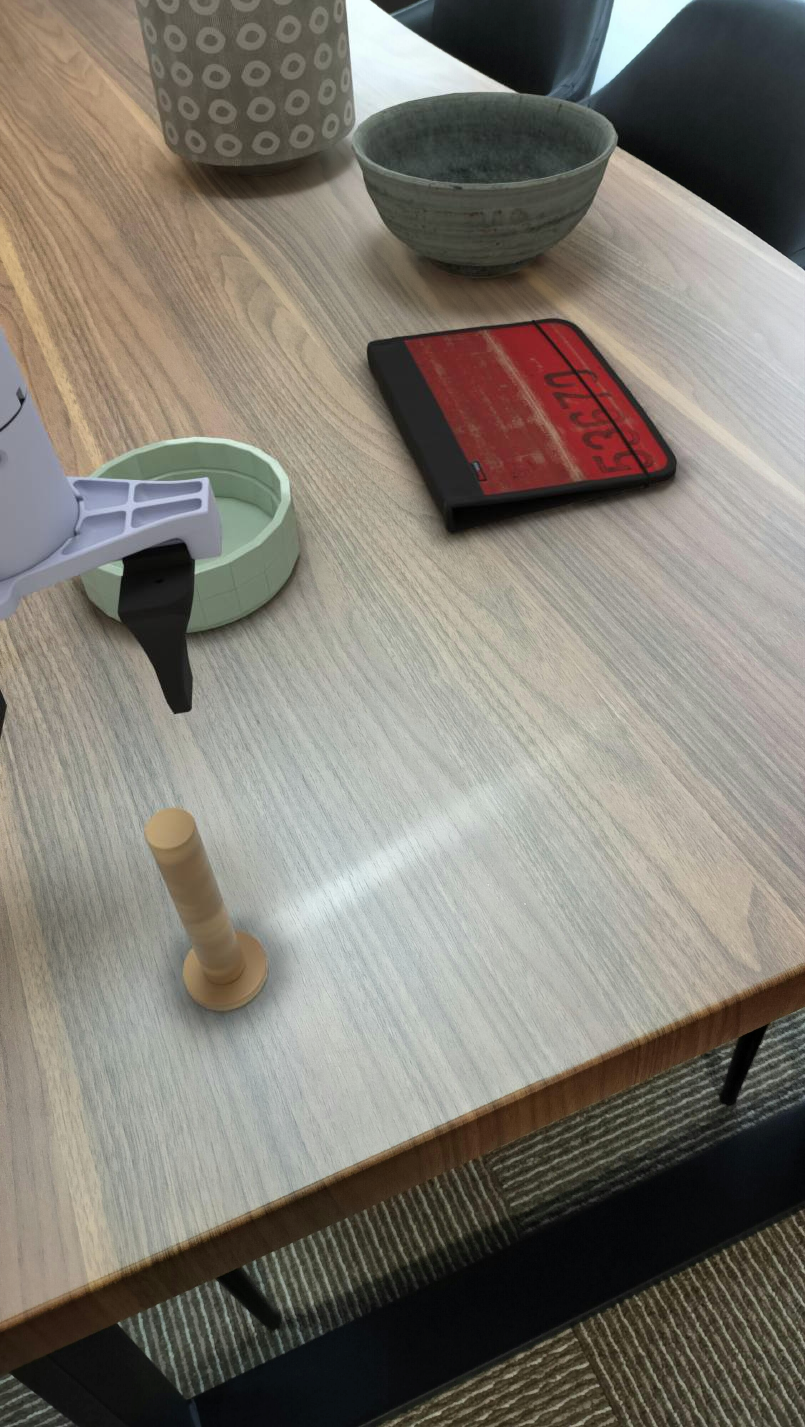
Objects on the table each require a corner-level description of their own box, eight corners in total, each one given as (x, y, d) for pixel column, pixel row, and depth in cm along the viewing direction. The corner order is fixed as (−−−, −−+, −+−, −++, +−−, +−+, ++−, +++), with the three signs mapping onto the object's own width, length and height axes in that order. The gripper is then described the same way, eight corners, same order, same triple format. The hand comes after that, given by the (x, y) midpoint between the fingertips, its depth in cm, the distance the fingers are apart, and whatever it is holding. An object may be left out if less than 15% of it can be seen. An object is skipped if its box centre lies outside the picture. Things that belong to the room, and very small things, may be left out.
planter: (397, 150, 104) (384, -72, 90) (255, 216, 95) (218, -17, 82) (272, 111, 113) (244, -95, 99) (133, 168, 104) (81, -48, 91)
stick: (184, 1016, 43) (114, 876, 35) (187, 940, 46) (122, 792, 38) (269, 1005, 44) (219, 863, 35) (267, 930, 46) (220, 781, 38)
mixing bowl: (75, 650, 58) (50, 591, 55) (94, 508, 67) (74, 450, 64) (305, 622, 59) (295, 562, 56) (295, 485, 68) (285, 425, 64)
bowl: (318, 293, 85) (303, 165, 77) (422, 191, 97) (417, 71, 89) (558, 335, 78) (566, 199, 71) (637, 220, 90) (651, 94, 83)
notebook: (446, 505, 61) (364, 338, 75) (446, 536, 63) (365, 367, 77) (693, 461, 64) (570, 307, 78) (686, 492, 66) (566, 336, 79)
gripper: (-352, 536, 28) (-111, 819, 39) (164, 450, 28) (270, 757, 38) (-269, 399, 33) (-74, 684, 43) (174, 324, 33) (265, 628, 43)
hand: (89, 710), depth 41 cm, fingers open, 7 cm apart
